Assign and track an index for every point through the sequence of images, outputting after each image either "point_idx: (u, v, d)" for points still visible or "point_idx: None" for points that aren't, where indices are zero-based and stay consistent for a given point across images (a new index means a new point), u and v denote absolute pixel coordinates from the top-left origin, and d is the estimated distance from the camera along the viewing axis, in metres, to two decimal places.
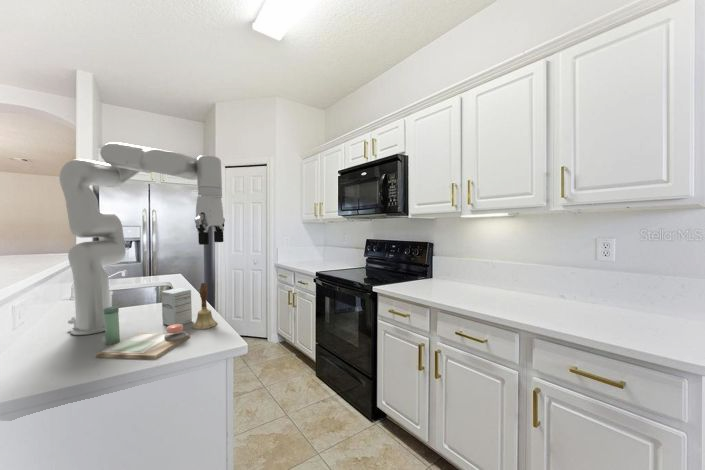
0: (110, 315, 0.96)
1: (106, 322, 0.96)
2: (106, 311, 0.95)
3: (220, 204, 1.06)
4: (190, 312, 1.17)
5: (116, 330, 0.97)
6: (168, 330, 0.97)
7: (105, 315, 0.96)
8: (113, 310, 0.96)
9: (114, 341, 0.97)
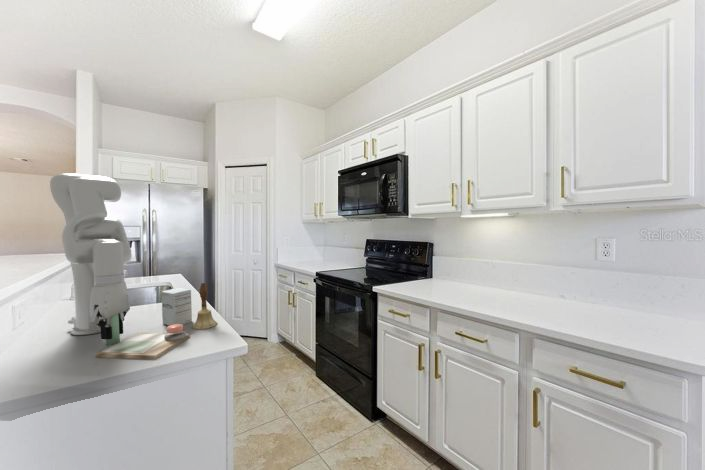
0: None
1: None
2: None
3: (123, 289, 0.99)
4: (190, 312, 1.17)
5: (116, 330, 0.97)
6: (168, 330, 0.97)
7: None
8: None
9: (114, 341, 0.97)
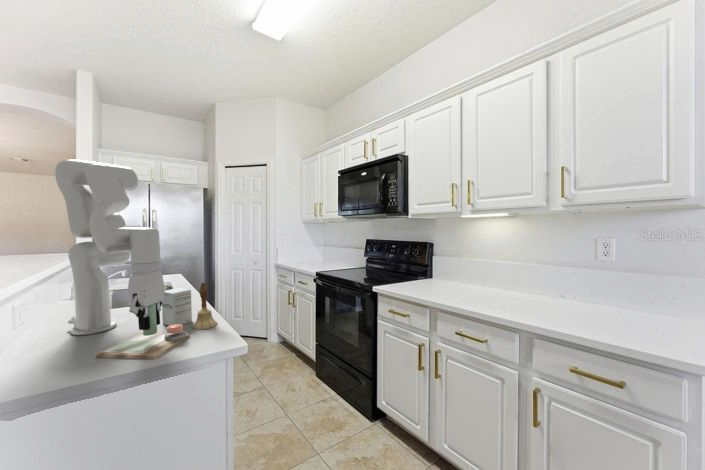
0: None
1: None
2: None
3: (159, 278, 0.96)
4: (190, 312, 1.17)
5: (154, 320, 0.94)
6: (168, 330, 0.97)
7: None
8: None
9: (152, 332, 0.93)
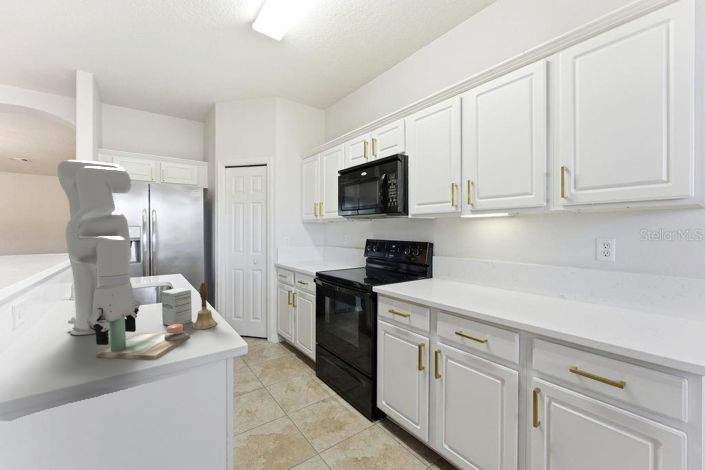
0: None
1: (111, 327, 0.88)
2: None
3: (128, 291, 0.91)
4: (190, 312, 1.17)
5: (122, 335, 0.90)
6: (168, 330, 0.97)
7: None
8: None
9: (120, 347, 0.89)
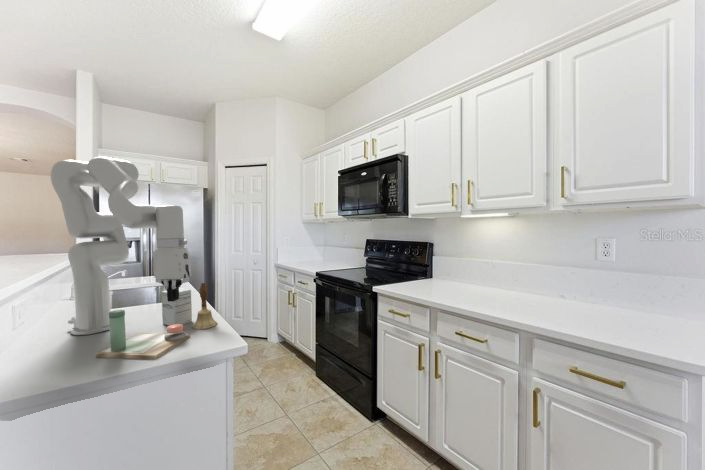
0: (116, 319, 0.88)
1: (111, 327, 0.88)
2: (111, 315, 0.88)
3: (173, 256, 0.95)
4: (190, 312, 1.17)
5: (122, 335, 0.90)
6: (168, 330, 0.97)
7: (110, 319, 0.88)
8: (119, 314, 0.89)
9: (120, 347, 0.89)
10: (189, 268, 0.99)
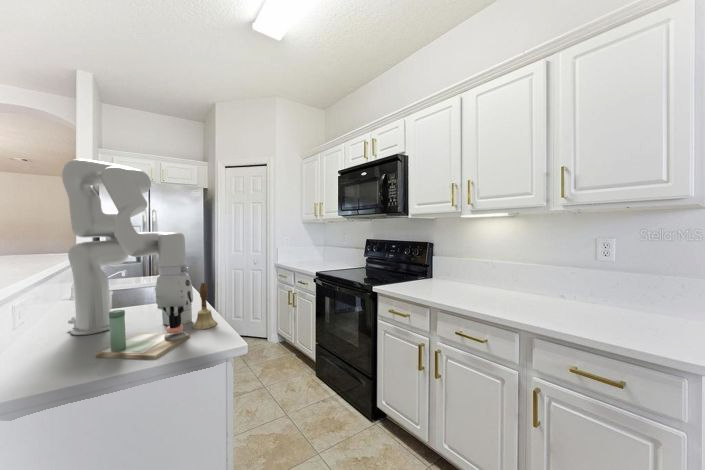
0: (116, 319, 0.88)
1: (111, 327, 0.88)
2: (111, 315, 0.88)
3: (175, 283, 0.96)
4: (190, 312, 1.17)
5: (122, 335, 0.90)
6: (168, 330, 0.97)
7: (110, 319, 0.88)
8: (119, 314, 0.89)
9: (120, 347, 0.89)
10: (191, 294, 1.00)
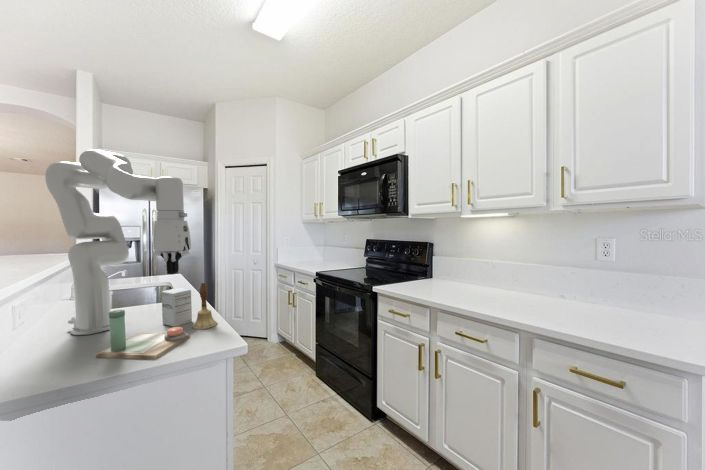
0: (116, 319, 0.88)
1: (111, 327, 0.88)
2: (111, 315, 0.88)
3: (172, 228, 0.95)
4: (190, 312, 1.17)
5: (122, 335, 0.90)
6: (168, 333, 0.97)
7: (110, 319, 0.88)
8: (119, 314, 0.89)
9: (120, 347, 0.89)
10: (189, 241, 0.99)
